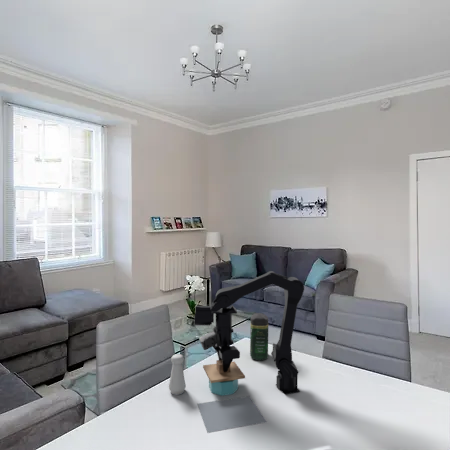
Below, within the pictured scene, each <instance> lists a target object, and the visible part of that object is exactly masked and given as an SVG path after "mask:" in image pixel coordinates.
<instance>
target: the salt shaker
mask: <svg viewBox="0 0 450 450" xmlns="http://www.w3.org/2000/svg"><path fill="white" fill-rule="evenodd" d="M184 361H185V359H184V355H183V354H180V353H177V354H176V353H175V354H173V355H172V356H171V358H170V362H171V364H172V365H171V371H170V378H169V383H168V389H169V392H170V393H171V394H172V395H175V396H176V395H177V396H179V395H182V394H183V393H184V392H185V390H186V387H187V386H186V385H187V384H186V381H185V380H186V379H185V373H184V367H183V363H184Z"/></svg>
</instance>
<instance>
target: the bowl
mask: <svg viewBox="0 0 450 450" xmlns="http://www.w3.org/2000/svg"><path fill="white" fill-rule="evenodd" d="M208 388H209V390H210V392H211V393H212V394H213V395H218V396H223V397H224V396H229V395H233V394H234V393H235V392H236V391H237V390H238V389H239V379H236V380H229V381H222V382H215V383H211V382H210V380H209V379H208Z"/></svg>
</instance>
